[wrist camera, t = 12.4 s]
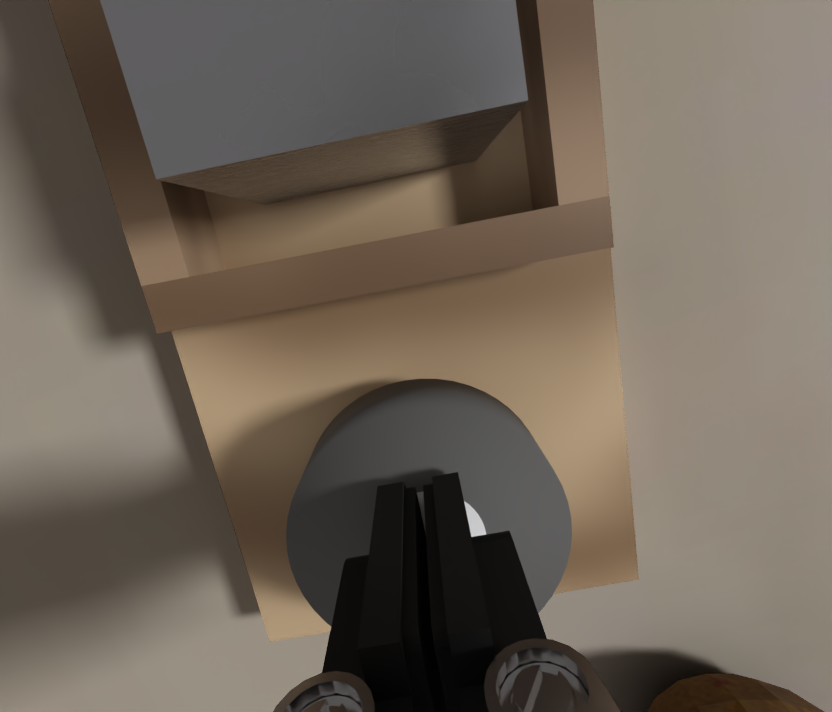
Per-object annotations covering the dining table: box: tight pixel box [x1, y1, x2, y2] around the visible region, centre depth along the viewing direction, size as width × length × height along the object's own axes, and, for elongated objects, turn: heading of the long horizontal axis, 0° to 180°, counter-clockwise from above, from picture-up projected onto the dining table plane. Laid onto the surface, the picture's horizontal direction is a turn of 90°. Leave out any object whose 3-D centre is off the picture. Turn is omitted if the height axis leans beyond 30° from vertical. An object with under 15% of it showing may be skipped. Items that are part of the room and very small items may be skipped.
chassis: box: [48, 0, 639, 642], centre depth 11 cm, size 20×11×4 cm, turn 11°
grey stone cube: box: [100, 0, 528, 205], centre depth 8 cm, size 5×5×5 cm
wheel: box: [286, 379, 572, 626], centre depth 11 cm, size 6×6×2 cm
